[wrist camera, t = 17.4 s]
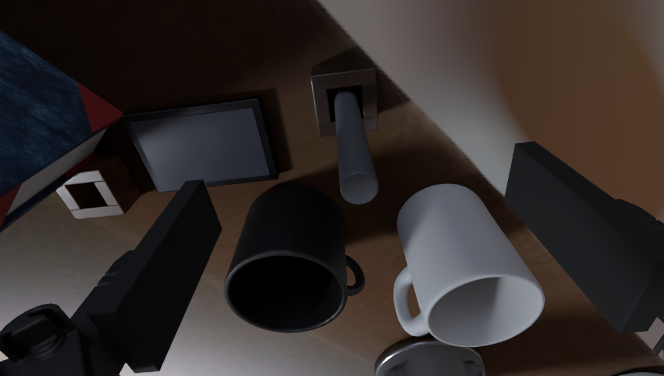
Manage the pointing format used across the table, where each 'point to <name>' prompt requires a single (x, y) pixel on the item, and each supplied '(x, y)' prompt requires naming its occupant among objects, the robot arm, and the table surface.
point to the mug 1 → (291, 262)
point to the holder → (344, 77)
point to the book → (42, 128)
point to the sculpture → (641, 374)
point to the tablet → (204, 143)
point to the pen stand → (100, 189)
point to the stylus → (353, 150)
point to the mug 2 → (462, 271)
